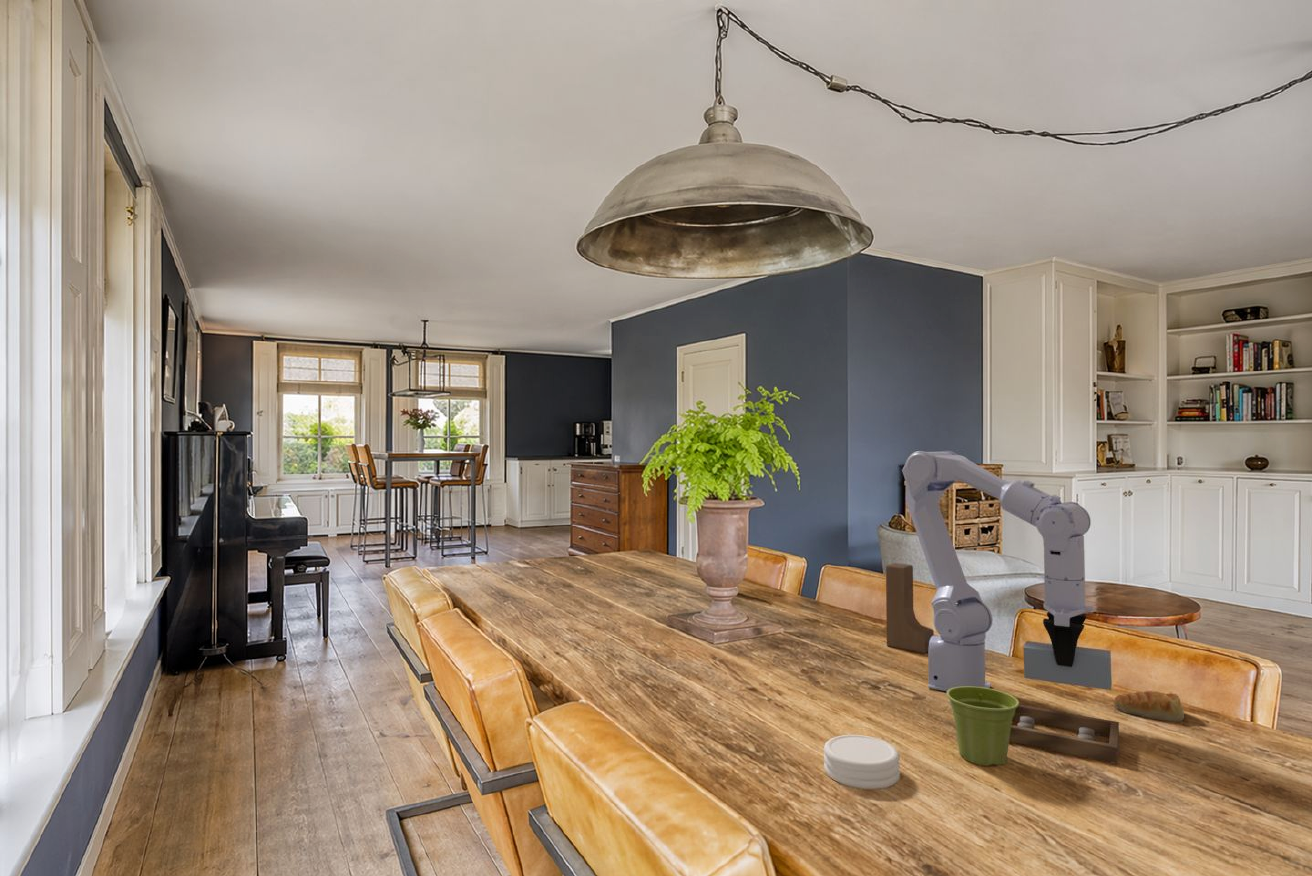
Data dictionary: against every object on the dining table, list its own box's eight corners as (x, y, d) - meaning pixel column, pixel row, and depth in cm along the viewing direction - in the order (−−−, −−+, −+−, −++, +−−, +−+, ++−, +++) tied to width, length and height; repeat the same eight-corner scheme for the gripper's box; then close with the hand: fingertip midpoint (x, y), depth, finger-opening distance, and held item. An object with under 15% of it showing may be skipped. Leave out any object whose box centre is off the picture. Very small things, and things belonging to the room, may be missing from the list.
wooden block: (934, 650, 153) (933, 567, 154) (925, 654, 150) (924, 570, 150) (895, 642, 160) (894, 562, 160) (885, 646, 157) (885, 565, 157)
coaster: (809, 774, 97) (809, 748, 97) (847, 751, 104) (847, 727, 104) (877, 799, 89) (876, 771, 89) (913, 773, 96) (912, 748, 96)
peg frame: (992, 737, 107) (991, 723, 107) (1003, 714, 116) (1003, 701, 116) (1117, 763, 98) (1117, 748, 98) (1119, 736, 107) (1118, 722, 107)
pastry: (1119, 717, 116) (1118, 694, 116) (1109, 703, 122) (1109, 681, 122) (1188, 725, 112) (1187, 701, 112) (1174, 710, 119) (1174, 687, 119)
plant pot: (958, 738, 107) (957, 681, 107) (1026, 755, 101) (1025, 694, 101) (938, 760, 100) (937, 698, 100) (1010, 779, 94) (1009, 714, 94)
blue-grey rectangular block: (1024, 678, 116) (1023, 647, 116) (1027, 670, 119) (1026, 640, 119) (1111, 690, 109) (1110, 658, 109) (1111, 682, 113) (1110, 650, 113)
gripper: (1091, 587, 106) (1093, 678, 106) (1094, 573, 118) (1096, 654, 118) (1038, 583, 110) (1039, 670, 110) (1046, 569, 122) (1048, 647, 122)
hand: (1065, 661), depth 114 cm, fingers closed on blue-grey rectangular block, 4 cm apart
